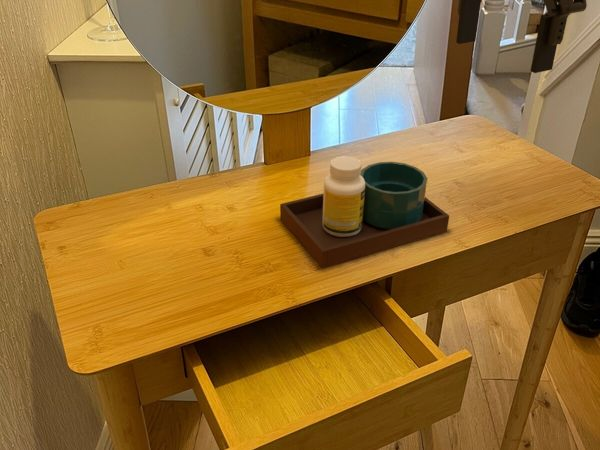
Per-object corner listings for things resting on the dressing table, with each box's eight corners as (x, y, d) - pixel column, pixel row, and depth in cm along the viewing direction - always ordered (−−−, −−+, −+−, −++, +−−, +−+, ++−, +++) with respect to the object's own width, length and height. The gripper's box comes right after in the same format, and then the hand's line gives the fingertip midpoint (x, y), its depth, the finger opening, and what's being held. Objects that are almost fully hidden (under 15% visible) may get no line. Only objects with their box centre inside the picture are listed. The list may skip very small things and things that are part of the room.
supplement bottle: (365, 237, 83) (370, 171, 77) (325, 239, 82) (327, 173, 77) (358, 215, 87) (362, 152, 82) (319, 217, 87) (321, 154, 81)
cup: (433, 212, 88) (438, 174, 85) (401, 240, 82) (405, 200, 79) (379, 192, 93) (382, 155, 90) (344, 217, 87) (346, 179, 84)
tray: (395, 190, 95) (397, 175, 93) (447, 231, 85) (449, 215, 84) (280, 219, 87) (280, 203, 86) (322, 268, 78) (322, 251, 76)
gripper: (433, -141, 76) (417, 35, 87) (602, -133, 57) (554, 90, 68) (481, -143, 79) (460, 28, 90) (657, -136, 60) (602, 79, 71)
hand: (501, 55), depth 79 cm, fingers open, 13 cm apart
